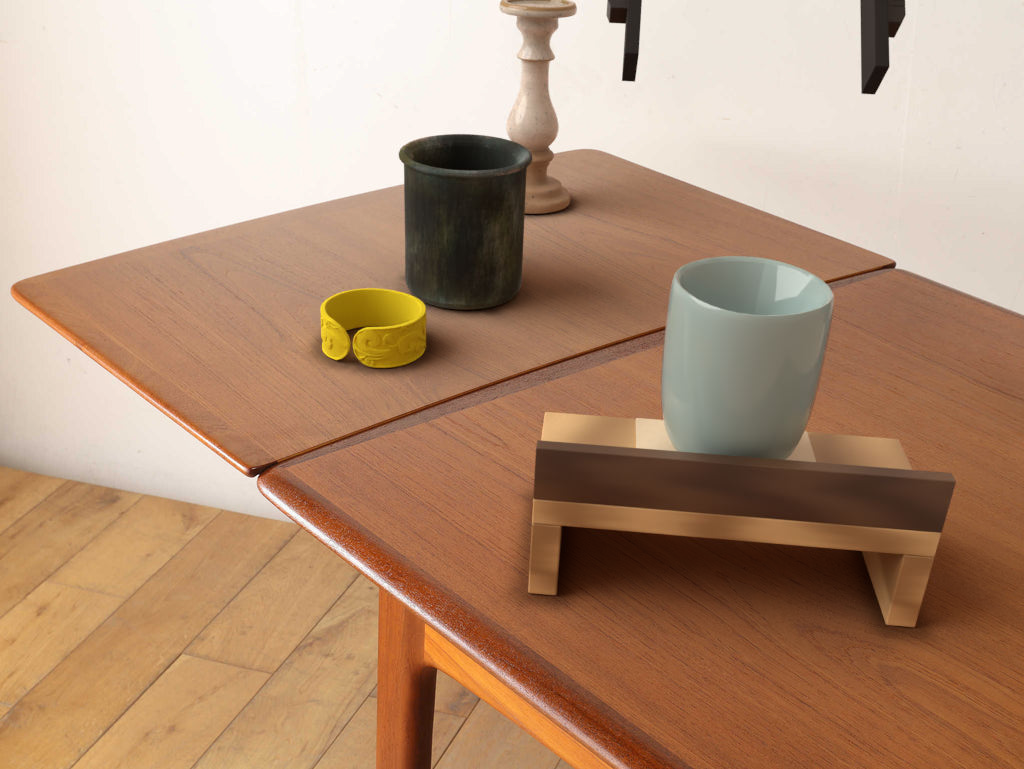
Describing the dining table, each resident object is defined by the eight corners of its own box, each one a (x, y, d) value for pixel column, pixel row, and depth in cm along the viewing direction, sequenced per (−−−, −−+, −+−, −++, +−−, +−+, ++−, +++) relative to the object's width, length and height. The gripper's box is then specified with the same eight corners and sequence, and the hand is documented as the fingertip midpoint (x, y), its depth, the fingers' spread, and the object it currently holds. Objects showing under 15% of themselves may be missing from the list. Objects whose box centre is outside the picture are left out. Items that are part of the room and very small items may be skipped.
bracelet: (348, 319, 85) (347, 281, 83) (441, 336, 83) (441, 297, 81) (304, 356, 78) (302, 316, 77) (403, 375, 76) (403, 334, 75)
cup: (627, 434, 58) (644, 265, 53) (745, 410, 61) (771, 248, 56) (703, 510, 52) (730, 327, 47) (831, 480, 55) (868, 304, 50)
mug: (398, 314, 86) (395, 170, 80) (403, 250, 98) (402, 122, 93) (531, 315, 86) (538, 173, 81) (519, 251, 99) (524, 124, 94)
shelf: (877, 525, 62) (910, 391, 58) (915, 628, 54) (956, 481, 50) (539, 497, 63) (547, 364, 59) (527, 593, 55) (535, 448, 51)
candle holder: (540, 184, 118) (550, -7, 108) (586, 207, 111) (601, 6, 102) (472, 195, 113) (476, -3, 104) (516, 220, 107) (525, 10, 97)
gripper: (942, -168, 68) (954, 122, 62) (556, -183, 69) (531, 98, 63) (988, -271, 61) (1007, 45, 55) (557, -286, 62) (528, 21, 56)
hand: (751, 74), depth 59 cm, fingers open, 13 cm apart
